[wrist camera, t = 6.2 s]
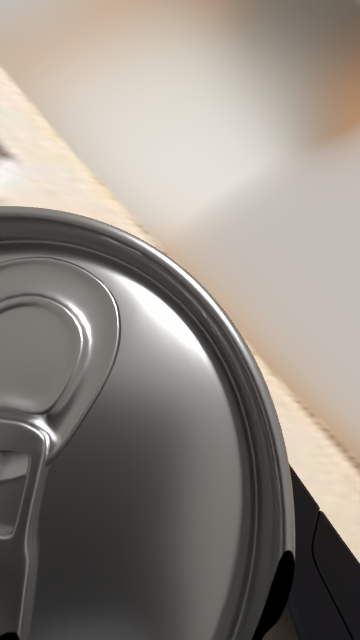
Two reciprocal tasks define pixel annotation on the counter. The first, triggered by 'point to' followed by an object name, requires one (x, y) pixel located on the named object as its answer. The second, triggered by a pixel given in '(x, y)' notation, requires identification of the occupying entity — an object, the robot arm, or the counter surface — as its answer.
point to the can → (131, 447)
